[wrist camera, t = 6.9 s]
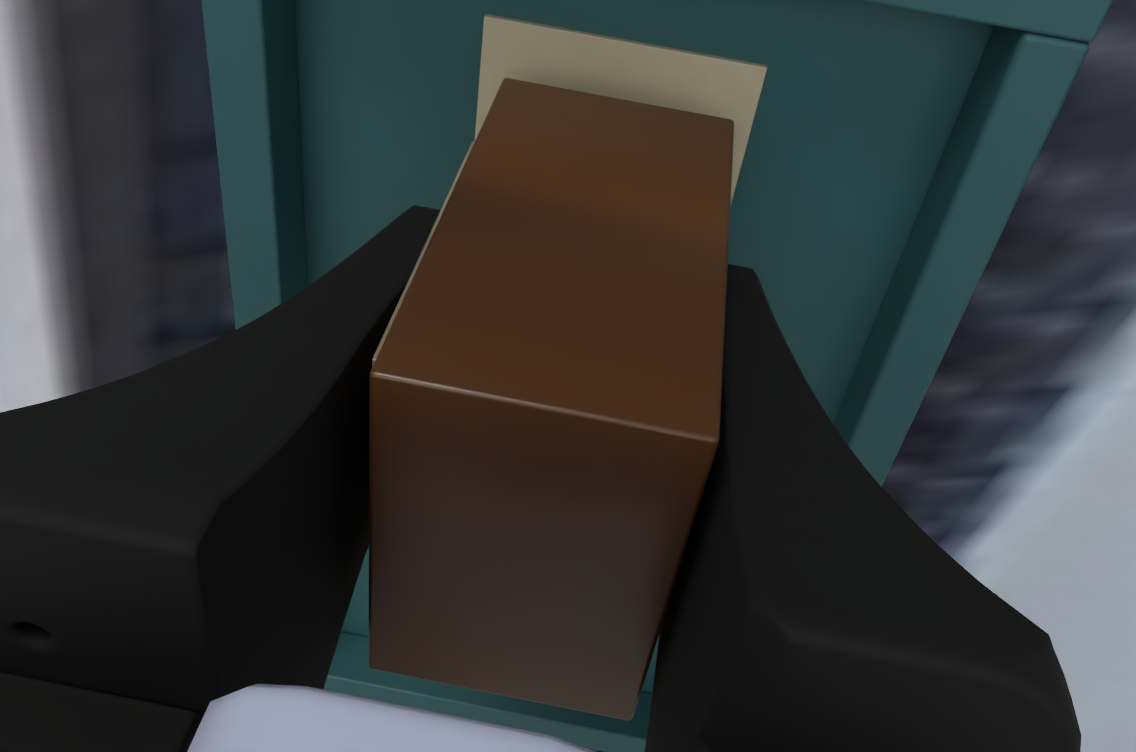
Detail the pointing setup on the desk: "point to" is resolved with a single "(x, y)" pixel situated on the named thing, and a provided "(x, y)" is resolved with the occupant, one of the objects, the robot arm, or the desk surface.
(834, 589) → the robot arm
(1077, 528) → the desk surface
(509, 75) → the cream flat panel
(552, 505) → the chocolate brown cuboid
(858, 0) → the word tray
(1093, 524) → the desk surface
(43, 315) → the desk surface
